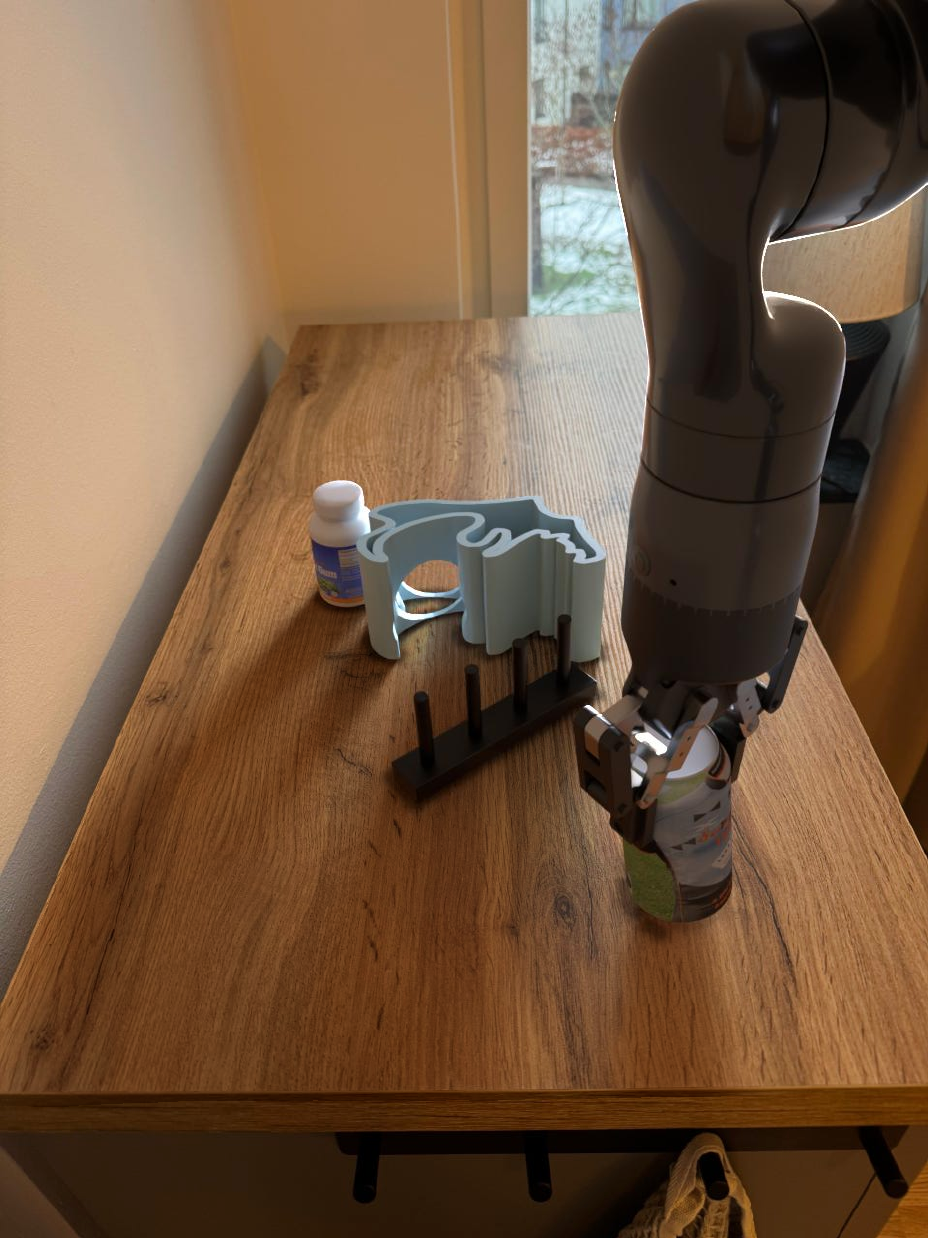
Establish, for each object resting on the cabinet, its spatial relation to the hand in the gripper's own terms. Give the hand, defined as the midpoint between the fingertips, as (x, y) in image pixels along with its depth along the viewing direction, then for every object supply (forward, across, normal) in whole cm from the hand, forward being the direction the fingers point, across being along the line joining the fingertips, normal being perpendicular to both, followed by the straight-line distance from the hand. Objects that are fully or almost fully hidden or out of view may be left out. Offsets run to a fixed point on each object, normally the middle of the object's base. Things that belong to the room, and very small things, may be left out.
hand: (675, 803), depth 50 cm
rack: (+8, 0, +16) cm, 18 cm away
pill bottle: (+8, +1, +37) cm, 38 cm away
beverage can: (+8, 0, 0) cm, 8 cm away
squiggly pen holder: (+8, +6, +26) cm, 28 cm away
